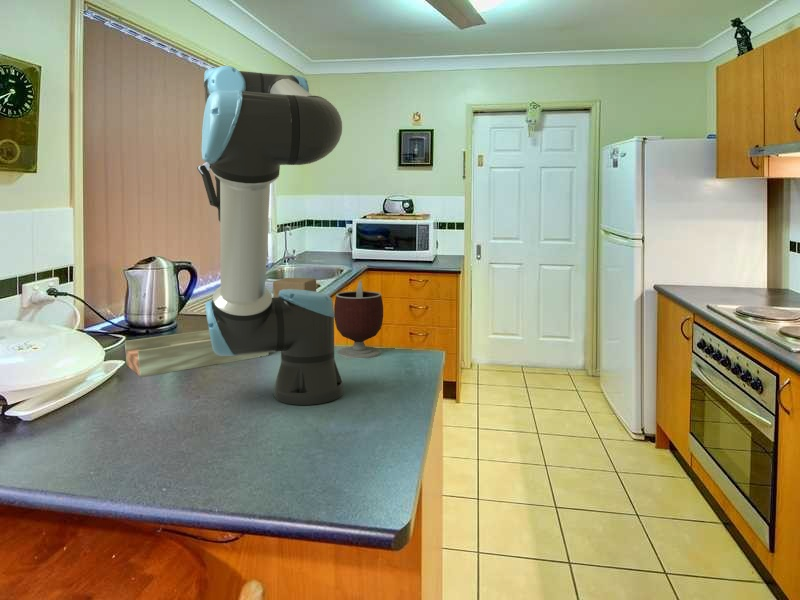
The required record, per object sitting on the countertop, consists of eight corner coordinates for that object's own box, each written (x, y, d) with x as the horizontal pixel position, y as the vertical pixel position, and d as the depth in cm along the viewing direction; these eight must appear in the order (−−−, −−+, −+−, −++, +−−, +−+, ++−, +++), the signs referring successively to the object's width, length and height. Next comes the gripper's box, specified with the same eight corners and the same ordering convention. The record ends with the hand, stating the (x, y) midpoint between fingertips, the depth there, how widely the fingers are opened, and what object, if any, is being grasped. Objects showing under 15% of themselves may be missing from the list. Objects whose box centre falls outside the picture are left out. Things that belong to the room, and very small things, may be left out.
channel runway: (268, 355, 161) (268, 332, 160) (140, 377, 140) (138, 351, 139) (248, 346, 172) (247, 324, 170) (126, 364, 151) (124, 340, 150)
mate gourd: (382, 359, 156) (382, 287, 153) (332, 359, 156) (331, 287, 153) (384, 346, 172) (383, 280, 169) (338, 346, 172) (336, 280, 169)
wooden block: (306, 350, 167) (304, 282, 164) (274, 348, 169) (272, 281, 166) (318, 342, 177) (316, 278, 173) (287, 340, 179) (285, 277, 175)
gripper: (242, 140, 145) (246, 234, 149) (190, 136, 137) (196, 235, 141) (255, 138, 139) (258, 235, 143) (201, 133, 131) (207, 236, 135)
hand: (227, 235), depth 142 cm, fingers closed
